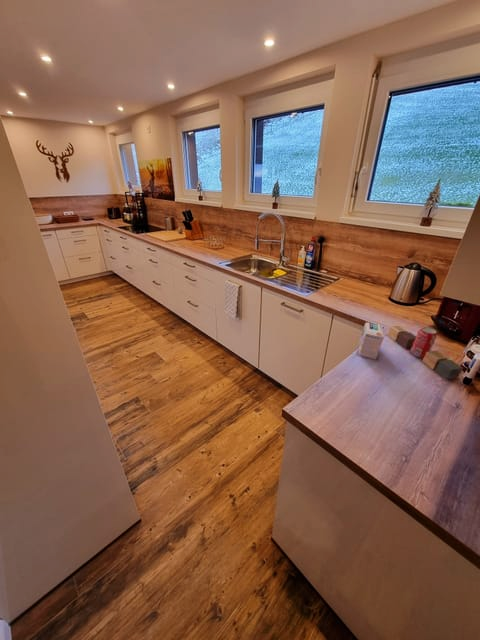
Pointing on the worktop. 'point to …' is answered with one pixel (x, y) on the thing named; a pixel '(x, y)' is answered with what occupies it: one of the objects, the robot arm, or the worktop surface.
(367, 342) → the light bulb box
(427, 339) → the beverage can
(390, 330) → the block row
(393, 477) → the worktop surface
